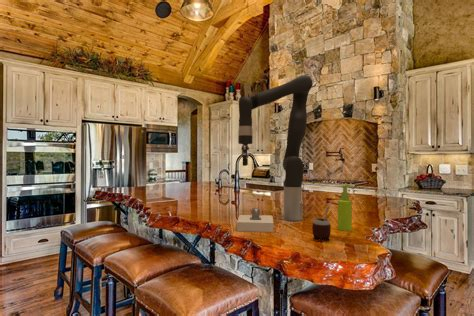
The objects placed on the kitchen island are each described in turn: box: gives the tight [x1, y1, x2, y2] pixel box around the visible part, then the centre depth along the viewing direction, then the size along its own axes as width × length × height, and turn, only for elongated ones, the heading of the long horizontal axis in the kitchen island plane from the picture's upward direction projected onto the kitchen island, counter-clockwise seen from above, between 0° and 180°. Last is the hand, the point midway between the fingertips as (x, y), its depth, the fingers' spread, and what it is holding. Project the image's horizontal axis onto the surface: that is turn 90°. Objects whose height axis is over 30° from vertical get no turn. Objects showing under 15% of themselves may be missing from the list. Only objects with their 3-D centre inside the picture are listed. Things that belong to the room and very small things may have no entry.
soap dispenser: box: [337, 185, 355, 232], centre depth 133 cm, size 6×7×20 cm
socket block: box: [236, 214, 274, 233], centre depth 137 cm, size 16×16×4 cm
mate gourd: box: [311, 201, 333, 243], centre depth 118 cm, size 8×8×15 cm
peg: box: [251, 208, 261, 220], centre depth 137 cm, size 4×4×8 cm
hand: (245, 165), depth 156 cm, fingers open, 8 cm apart
